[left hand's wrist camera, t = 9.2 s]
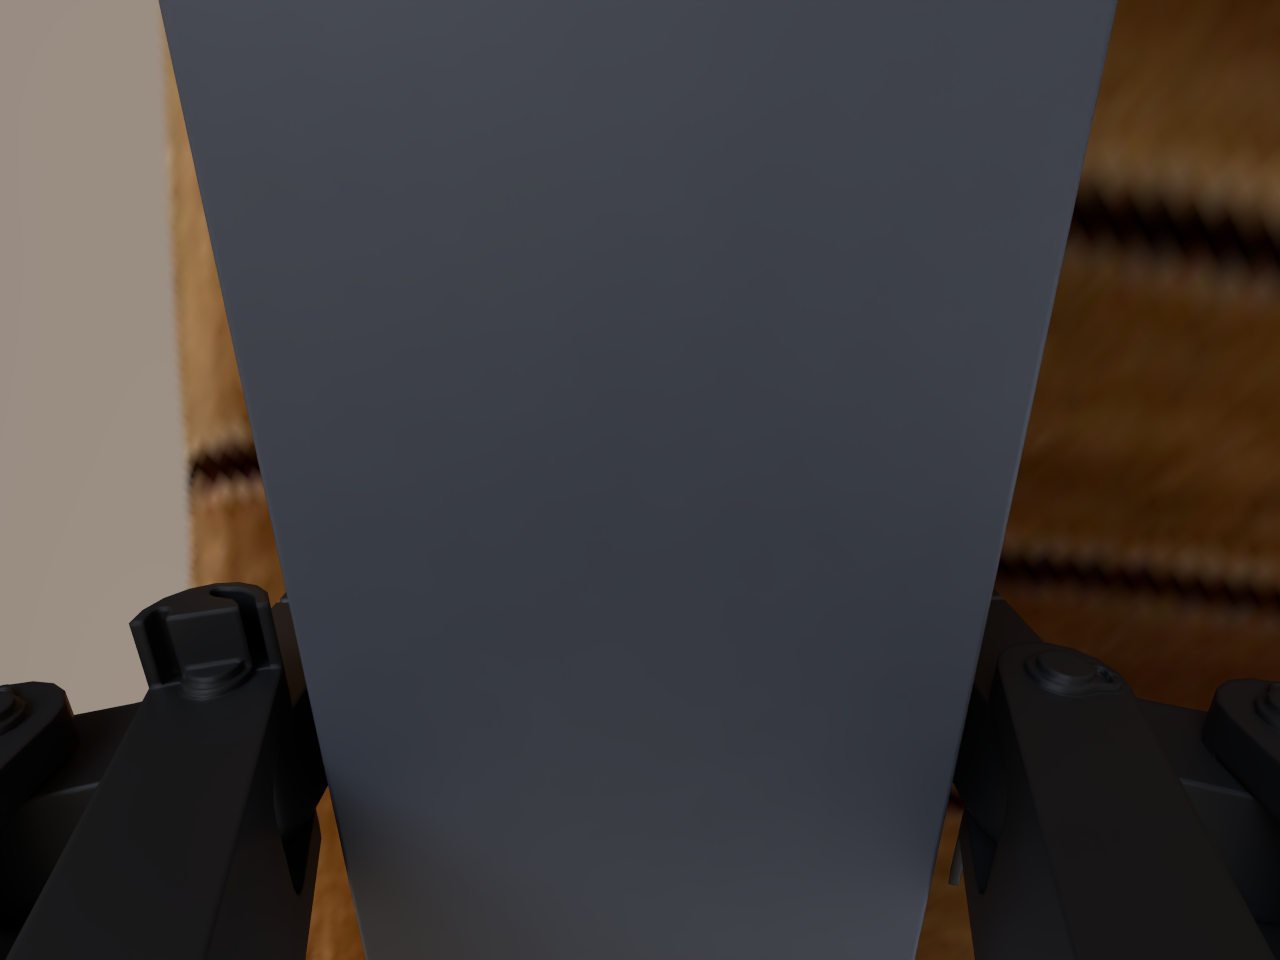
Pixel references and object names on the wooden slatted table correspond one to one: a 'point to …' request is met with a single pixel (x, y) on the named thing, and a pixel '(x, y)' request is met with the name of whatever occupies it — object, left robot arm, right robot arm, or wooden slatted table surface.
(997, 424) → the bar
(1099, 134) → the wooden slatted table surface
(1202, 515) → the wooden slatted table surface
